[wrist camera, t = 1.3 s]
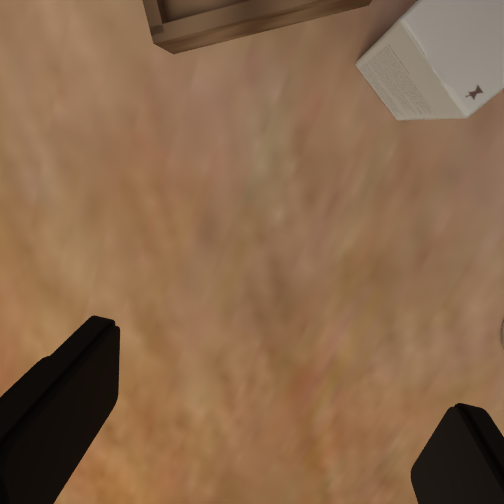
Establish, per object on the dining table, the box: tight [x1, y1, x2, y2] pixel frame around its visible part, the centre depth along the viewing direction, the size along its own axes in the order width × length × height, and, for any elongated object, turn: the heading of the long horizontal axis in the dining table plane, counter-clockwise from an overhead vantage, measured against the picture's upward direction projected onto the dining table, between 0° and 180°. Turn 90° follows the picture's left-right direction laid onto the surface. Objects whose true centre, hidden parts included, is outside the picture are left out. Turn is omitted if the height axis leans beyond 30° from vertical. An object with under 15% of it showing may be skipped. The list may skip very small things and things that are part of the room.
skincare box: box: [355, 0, 504, 120], centre depth 20 cm, size 6×4×12 cm
